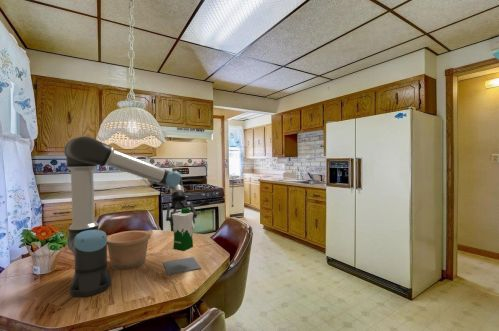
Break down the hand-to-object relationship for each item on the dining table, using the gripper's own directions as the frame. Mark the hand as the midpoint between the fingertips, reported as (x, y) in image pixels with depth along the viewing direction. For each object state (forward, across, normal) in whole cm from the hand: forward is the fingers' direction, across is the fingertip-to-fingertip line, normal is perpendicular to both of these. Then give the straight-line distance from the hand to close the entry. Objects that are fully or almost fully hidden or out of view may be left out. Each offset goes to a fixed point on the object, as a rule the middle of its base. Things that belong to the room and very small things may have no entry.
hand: (184, 230), depth 128 cm
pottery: (0, +25, -27) cm, 37 cm away
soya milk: (+5, 0, -9) cm, 10 cm away
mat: (+11, +1, -16) cm, 19 cm away
